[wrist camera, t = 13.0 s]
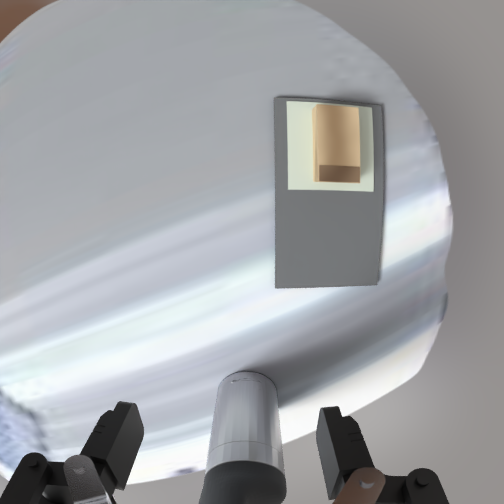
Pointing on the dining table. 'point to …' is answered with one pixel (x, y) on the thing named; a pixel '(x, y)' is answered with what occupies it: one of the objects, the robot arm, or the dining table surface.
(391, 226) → the dining table surface
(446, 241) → the dining table surface
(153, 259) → the dining table surface
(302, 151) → the mat
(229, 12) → the dining table surface
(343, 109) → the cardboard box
